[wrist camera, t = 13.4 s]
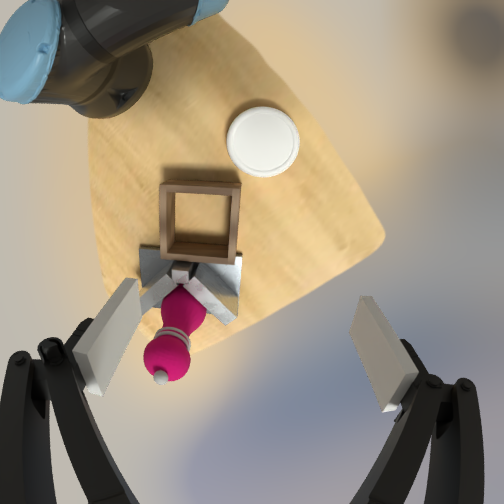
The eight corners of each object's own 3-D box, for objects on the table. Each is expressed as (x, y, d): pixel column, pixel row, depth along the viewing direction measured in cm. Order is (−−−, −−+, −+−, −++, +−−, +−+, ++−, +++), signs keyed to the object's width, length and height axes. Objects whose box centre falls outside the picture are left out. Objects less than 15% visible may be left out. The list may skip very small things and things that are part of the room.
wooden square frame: (169, 179, 41) (159, 184, 37) (241, 183, 42) (240, 189, 37) (169, 246, 45) (160, 258, 41) (236, 251, 46) (234, 265, 41)
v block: (146, 302, 50) (133, 325, 43) (141, 245, 45) (124, 264, 39) (237, 312, 50) (236, 337, 44) (242, 254, 46) (240, 274, 39)
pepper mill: (166, 306, 48) (130, 391, 30) (171, 270, 46) (129, 353, 27) (205, 316, 49) (186, 406, 31) (213, 281, 46) (193, 371, 28)
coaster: (288, 181, 42) (291, 184, 38) (222, 167, 41) (219, 170, 38) (302, 117, 38) (307, 115, 35) (235, 102, 37) (234, 99, 34)
